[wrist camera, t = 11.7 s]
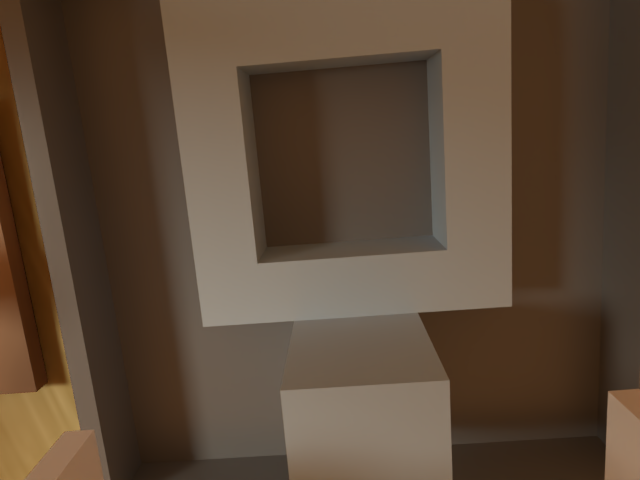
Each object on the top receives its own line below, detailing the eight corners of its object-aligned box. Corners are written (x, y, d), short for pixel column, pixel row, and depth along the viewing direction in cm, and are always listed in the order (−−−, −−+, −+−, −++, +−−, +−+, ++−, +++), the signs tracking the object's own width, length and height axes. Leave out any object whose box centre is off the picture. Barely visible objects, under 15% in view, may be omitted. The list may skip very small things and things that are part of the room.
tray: (132, 470, 21) (99, 526, 18) (42, -35, 17) (-18, -70, 14) (607, 441, 21) (654, 495, 18) (625, -95, 17) (689, -144, 14)
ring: (234, 424, 20) (183, 573, 13) (183, 17, 17) (83, -58, 10) (491, 408, 20) (574, 555, 13) (486, -10, 17) (592, -108, 10)
